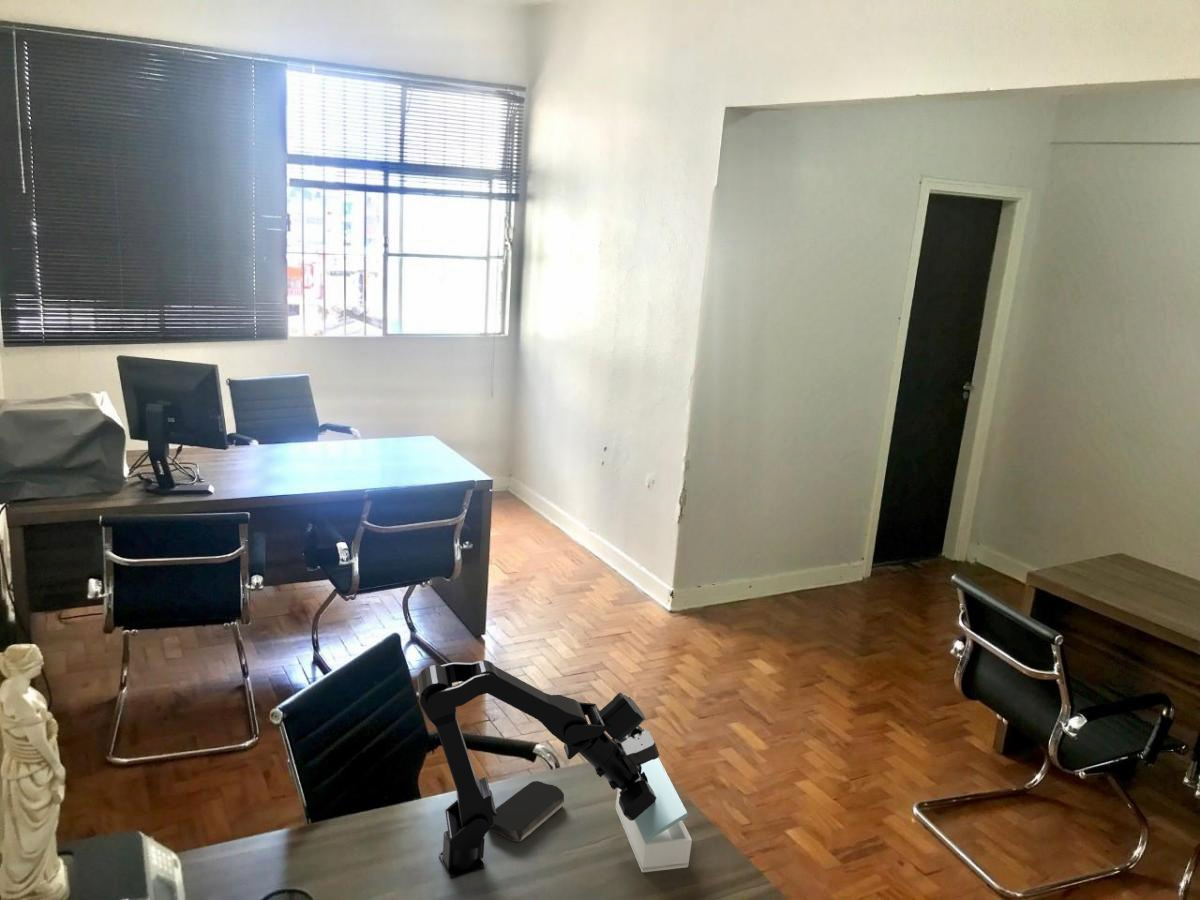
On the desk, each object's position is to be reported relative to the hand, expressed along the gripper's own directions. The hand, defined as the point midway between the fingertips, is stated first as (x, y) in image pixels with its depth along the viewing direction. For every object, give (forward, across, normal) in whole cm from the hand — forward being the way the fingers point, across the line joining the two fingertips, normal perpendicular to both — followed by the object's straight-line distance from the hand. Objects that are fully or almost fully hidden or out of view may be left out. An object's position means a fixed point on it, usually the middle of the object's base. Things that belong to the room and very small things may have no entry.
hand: (652, 800), depth 168 cm
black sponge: (-8, +10, +23) cm, 26 cm away
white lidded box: (+8, +1, +6) cm, 10 cm away
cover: (+1, +1, 0) cm, 2 cm away
